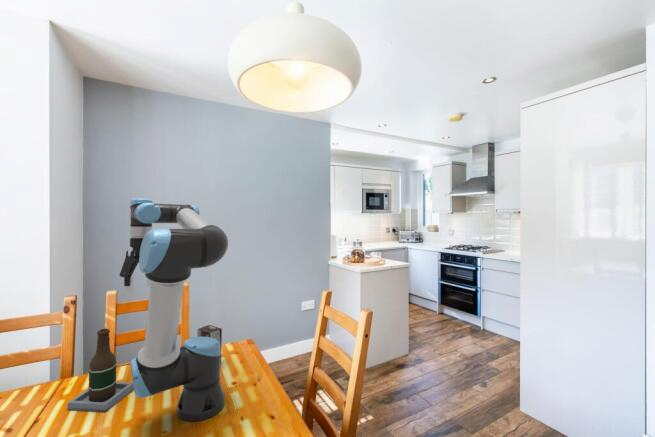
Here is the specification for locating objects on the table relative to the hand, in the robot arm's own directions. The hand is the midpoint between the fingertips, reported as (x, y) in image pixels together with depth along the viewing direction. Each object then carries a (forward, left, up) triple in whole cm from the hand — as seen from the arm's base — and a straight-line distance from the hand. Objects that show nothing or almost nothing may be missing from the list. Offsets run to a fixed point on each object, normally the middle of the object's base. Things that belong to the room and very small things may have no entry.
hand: (140, 290), depth 120 cm
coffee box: (-23, -14, -36) cm, 45 cm away
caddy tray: (+3, +14, -36) cm, 39 cm away
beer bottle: (+3, +14, -35) cm, 38 cm away
